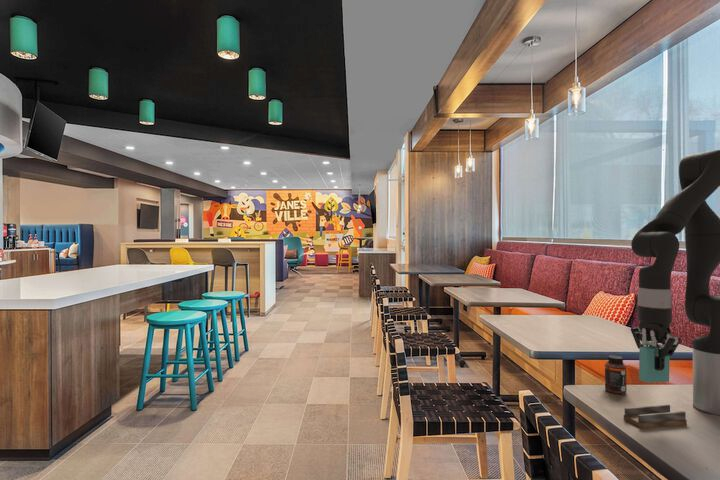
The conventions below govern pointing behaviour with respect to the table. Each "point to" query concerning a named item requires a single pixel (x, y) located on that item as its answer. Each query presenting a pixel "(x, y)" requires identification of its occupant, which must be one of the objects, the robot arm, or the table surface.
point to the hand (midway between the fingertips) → (654, 368)
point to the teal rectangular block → (652, 366)
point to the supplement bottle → (615, 375)
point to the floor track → (654, 416)
